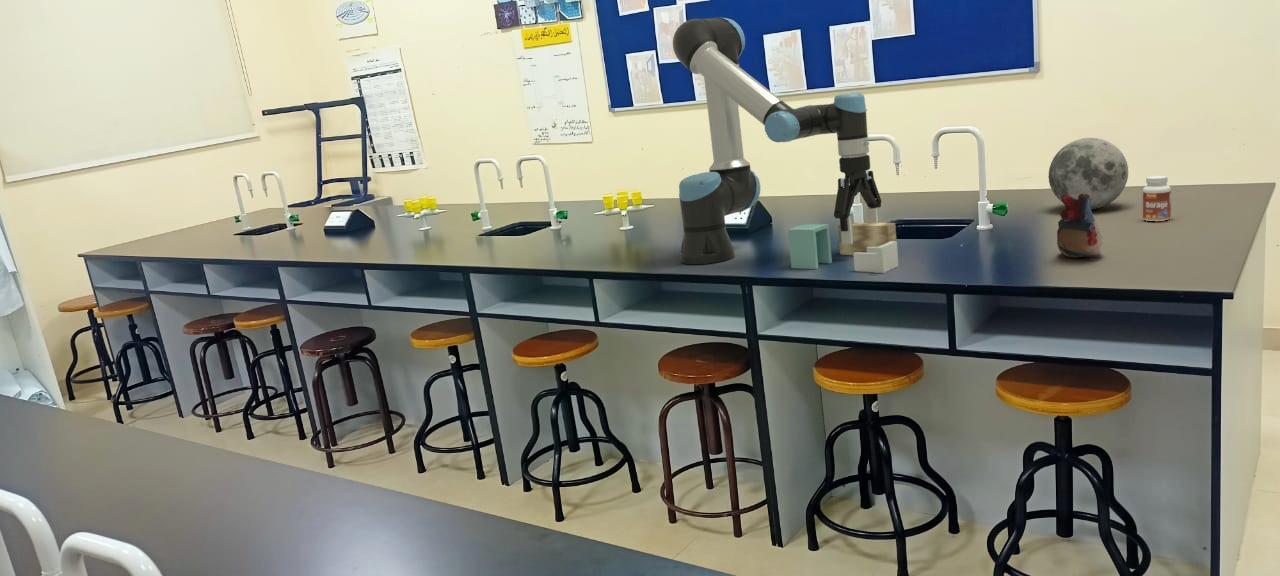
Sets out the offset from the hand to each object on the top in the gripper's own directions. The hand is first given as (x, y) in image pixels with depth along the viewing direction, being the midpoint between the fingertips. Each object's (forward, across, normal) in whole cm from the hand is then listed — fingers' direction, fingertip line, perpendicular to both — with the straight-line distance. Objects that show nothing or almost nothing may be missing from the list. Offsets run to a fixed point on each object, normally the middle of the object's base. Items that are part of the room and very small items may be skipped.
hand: (860, 238), depth 236 cm
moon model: (+5, +64, -36) cm, 73 cm away
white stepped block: (+4, -15, -12) cm, 20 cm away
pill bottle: (+5, +48, -57) cm, 75 cm away
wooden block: (+4, 0, -2) cm, 5 cm away
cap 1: (+4, -15, +6) cm, 17 cm away
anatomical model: (+5, +4, -52) cm, 52 cm away
